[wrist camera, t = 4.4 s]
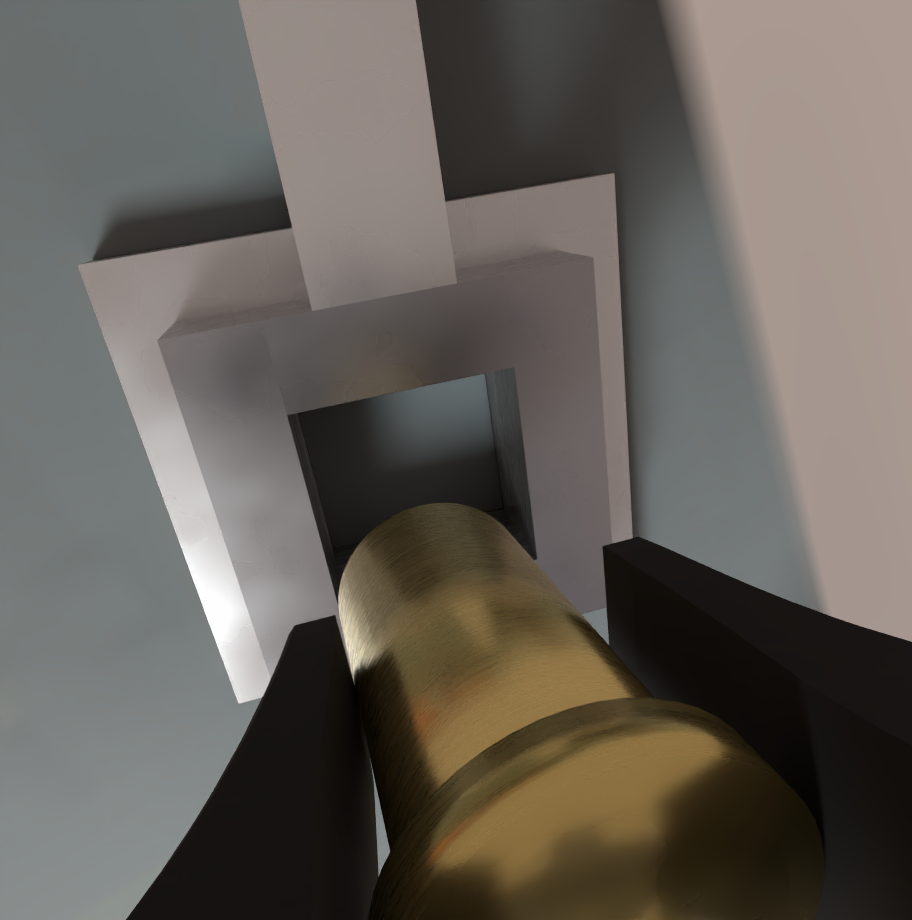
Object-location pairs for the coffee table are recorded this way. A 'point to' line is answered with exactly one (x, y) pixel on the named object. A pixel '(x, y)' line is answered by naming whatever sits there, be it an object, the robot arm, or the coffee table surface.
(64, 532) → the coffee table surface
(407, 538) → the pin
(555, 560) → the white stepped square fixture
